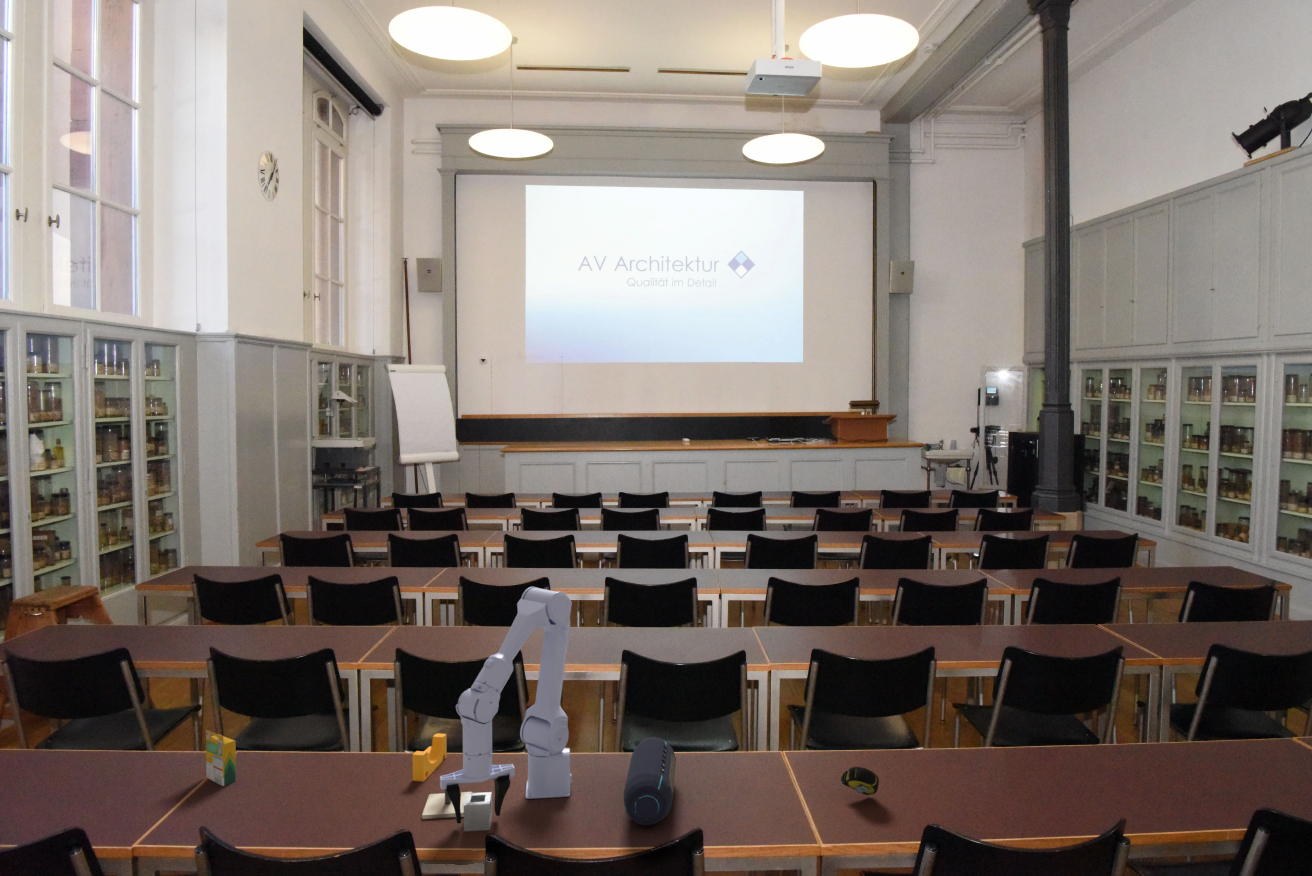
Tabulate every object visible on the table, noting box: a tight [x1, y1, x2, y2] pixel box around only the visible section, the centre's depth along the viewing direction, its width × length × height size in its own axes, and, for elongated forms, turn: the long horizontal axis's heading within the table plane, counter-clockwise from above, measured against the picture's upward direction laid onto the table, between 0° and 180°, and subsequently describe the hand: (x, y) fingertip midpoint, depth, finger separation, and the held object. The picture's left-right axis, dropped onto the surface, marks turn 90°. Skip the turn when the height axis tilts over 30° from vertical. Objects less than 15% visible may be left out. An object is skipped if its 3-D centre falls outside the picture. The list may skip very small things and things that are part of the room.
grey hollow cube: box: [463, 791, 493, 832], centre depth 156 cm, size 5×5×5 cm
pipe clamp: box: [412, 732, 448, 783], centre depth 180 cm, size 12×4×6 cm, turn 170°
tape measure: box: [840, 766, 880, 796], centre depth 166 cm, size 7×7×4 cm
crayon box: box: [205, 729, 237, 787], centre depth 174 cm, size 7×3×12 cm, turn 58°
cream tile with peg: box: [421, 789, 473, 820], centre depth 163 cm, size 9×9×5 cm
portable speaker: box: [623, 736, 677, 826], centre depth 166 cm, size 25×10×10 cm, turn 176°
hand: (478, 817), depth 156 cm, fingers open, 7 cm apart
